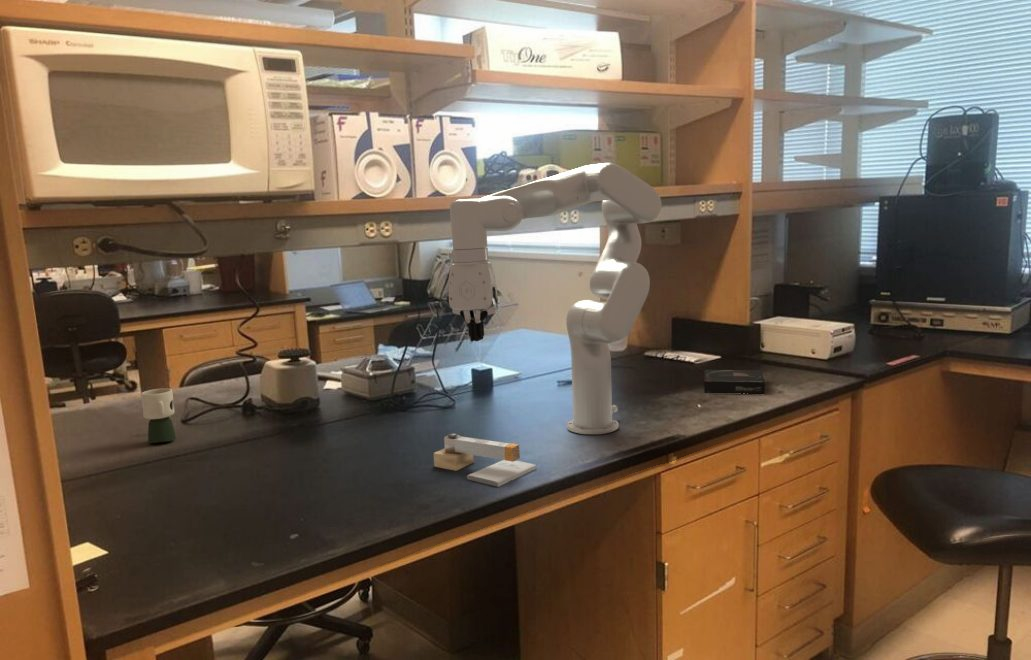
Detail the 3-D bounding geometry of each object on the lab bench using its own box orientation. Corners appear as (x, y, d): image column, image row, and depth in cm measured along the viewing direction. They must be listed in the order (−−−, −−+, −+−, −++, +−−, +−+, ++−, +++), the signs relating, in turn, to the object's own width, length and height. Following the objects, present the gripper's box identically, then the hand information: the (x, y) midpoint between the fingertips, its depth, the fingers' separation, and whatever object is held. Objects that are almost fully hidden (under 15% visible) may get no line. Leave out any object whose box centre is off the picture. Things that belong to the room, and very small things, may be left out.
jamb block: (452, 458, 169) (451, 445, 168) (473, 462, 165) (472, 449, 165) (434, 466, 164) (433, 452, 164) (456, 470, 161) (455, 457, 160)
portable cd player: (760, 382, 231) (760, 369, 230) (764, 396, 214) (764, 382, 214) (704, 382, 235) (704, 369, 234) (704, 395, 218) (704, 381, 218)
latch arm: (441, 451, 164) (440, 435, 163) (451, 446, 167) (450, 431, 166) (511, 462, 154) (511, 446, 154) (521, 457, 157) (520, 441, 157)
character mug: (181, 444, 189) (176, 392, 187) (150, 449, 185) (144, 397, 183) (173, 434, 198) (168, 385, 196) (143, 440, 194) (137, 390, 192)
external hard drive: (467, 482, 155) (506, 464, 165) (498, 489, 150) (536, 471, 160) (466, 474, 155) (505, 457, 165) (497, 481, 150) (536, 463, 160)
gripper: (432, 259, 165) (439, 342, 168) (493, 257, 159) (499, 344, 162) (449, 256, 172) (455, 336, 175) (509, 254, 166) (514, 337, 169)
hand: (476, 339), depth 169 cm, fingers closed
